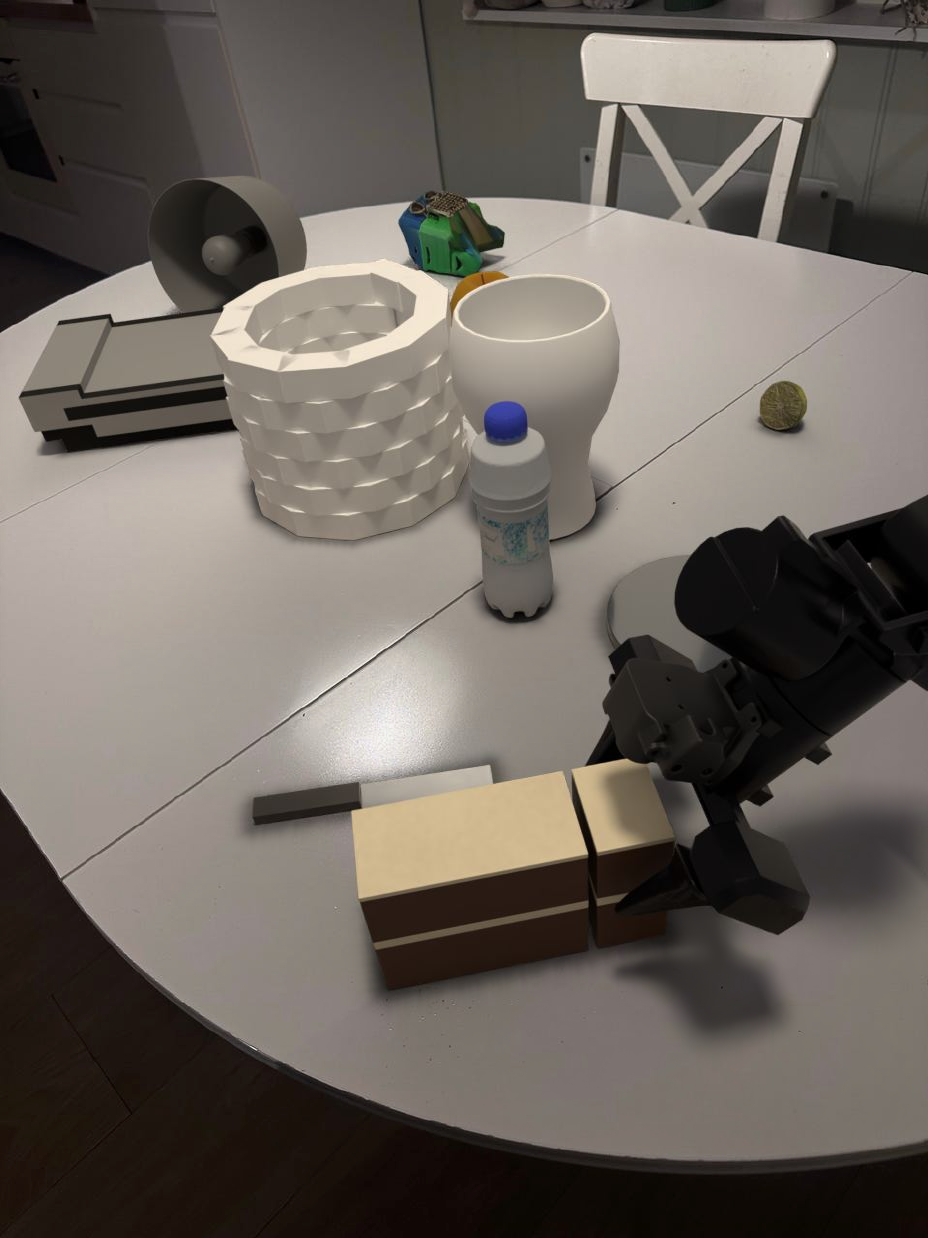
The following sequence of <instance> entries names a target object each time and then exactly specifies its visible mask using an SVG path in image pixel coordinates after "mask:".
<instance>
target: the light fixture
mask: <svg viewBox="0 0 928 1238" xmlns="http://www.w3.org/2000/svg"><path fill="white" fill-rule="evenodd" d="M307 243H308V242H307V237H306V232H305V229H304V226H303V223H302V220H301V218H300V216H299V215H298V212H297V211H296V209H295V207H294V205H293V204H292V203H291V202H290V200H289V199H288V198H287V197H286V196H285V195H284V193H282V191H280V190H279V189H277V187H275V186H274V185H272V184H271V183H269V182H268V181H265V180H263V179H260V178H258V177H254V176H249V175H231V176H213V177H199V178H188V179H183V180H180V181H178V182H175V183H173V184H171V185H170V186H169V187H168V188H166V189H165V190H164V191H163V192H162V193H161V195H159V196H158V198H157V199H156V202H155V203H154V205H153V206H152V209H151V212H150V215H149V220H148V227H147V246H148V253H149V257H150V262H151V264H152V268H153V270H154V272H155V276H156V278H157V280H158V282H159V283H160V286H161V287H162V289H163V290H164V292H165V294H166V295H167V297H168V298H169V299H170V301H172V303H173V304H174V305H175V306H176V307H177V308H178V309H179V310H180V311H181V313H187V312H194V311H201V310H208V309H216V308H223V306H224V305H226V304H228V303H229V302H231V301H233V300H234V299H236V298H238V297H239V296H241V295H242V294H244V293H246V292H247V291H249V290H251V289H252V288H254V287H256V286H257V285H259V284H260V283H262V282H265V281H269V280H272V279H276V278H279V277H282V276H286V275H289V274H293V273H296V272H300V271H303V270H305V268H306V263H307V259H308V258H307V257H308V255H307V254H308V244H307Z"/></svg>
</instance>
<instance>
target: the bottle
mask: <svg viewBox="0 0 928 1238" xmlns="http://www.w3.org/2000/svg"><path fill="white" fill-rule="evenodd" d="M484 428H485V431H484V432H483V433H481V434H479V435H478V434H477V435H476V437H474V439H473V441H472V443H471V446H470V461H469V462H470V463H469V475H468V481H469V482H468V483H469V485H470V488H471V490H470V495H471V497H472V498H471V499H473V500H472V501H474V502H475V504H476V512H477V520H478V529H479V530H478V531H479V538H480V548H481V577H482V588H483V592H484V597H485V598H486V602H487V603H488V605H489V606H490V607H491V609H493V610H497V611H498V610H500V611H501V613H502V614H503V616H504V617H506V618H514V616H515V612H516V613H517V612H523V613H524V616H525V617H527V618H529V617H532V616H534V615H535V614H536V612H537V610H538V609H539V608H544V607H547V606H548V605H549V602H550V601H551V599H552V596H553V595H552V594H553V587H554V574H553V573H554V572H553V564H552V556H551V549H550V540H549V524H548V500H547V498H548V496H549V494H550V491H551V483H550V480H551V469H550V466H549V461H548V455H547V450H546V445H545V441H544V439H543V437H542V435H541V434H540V433H539V432H537V431H536V430H534V429H531V428H529V427H528V423H527V414H526V411H525V409H524V408H523V407H522V406H521V405H520V404H518V403H516V402H511V401H503V402H498V403H495V404H493V405H491V406H490V407H489V408H488V409H487V410H486V412H485V415H484Z"/></svg>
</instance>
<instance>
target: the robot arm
mask: <svg viewBox="0 0 928 1238" xmlns="http://www.w3.org/2000/svg"><path fill="white" fill-rule="evenodd" d="M689 555H690V557H689V558H688V560H687V562H686V563H685V565H684V566H683V568H682V570H681V573H680V575H679V577H678V580H677V584H676V588H675V595H674V605H675V610H676V615H677V617H678V619H679V621H680V622H681V623H682V624H683V625H684V627H685V628H686V629H687V630H689V631H691V632H692V633H694V634H696V635H697V636H699V637H701V638H702V639H704V640H705V641H707V642H709V643H710V644H712V645H714V646H715V647H717V648H719V649H720V650H722V651H723V652H725V653H727V654H728V655H730V656H732V658H731V659H729V660H728V659H725V660H723V661H722V662H720V663H719V664H718V665H717V666H716V667H714V668H712V669H710V670H708V671H706V672H703V673H702V672H698V671H697V669H696V667H695V665H694V663H693V661H692V660H691V659H689V658H688V657H686V656H684V655H683V654H681V653H679V652H677V651H676V650H674V649H672V648H671V647H669V646H667V645H665V644H664V643H662V642H660V641H659V640H657V639H655V638H653V637H652V636H650V635H642V636H637V637H631V638H628V639H627V640H626V641H625V642H623V643H622V644H621V645H620V646H619V647H618V648H617V649H614V650H613V651H612V652H610V654H609V655H608V656H607V658H608V660H609V662H610V666H611V668H612V670H613V672H611V673H610V674H609V676H608V684H609V687H610V689H609V690H608V692H607V693H606V695H605V697H604V698H603V700H602V702H601V706H602V709H603V713H604V714H605V715H607V716H608V718H609V719H608V721H607V723H606V724H605V725H606V726H605V728H604V730H603V731H602V734H601V736H600V737H599V739H598V740H597V743H596V745H595V747H594V748H593V750H592V752H591V754H590V755H589V757H588V759H587V761H586V762H585V765H584V766H583V767H586V766H591V765H596V764H602V763H607V762H612V761H617V760H623V759H628V760H630V761H632V762H635V763H639V764H647V765H648V764H651V763H654V764H657V766H658V768H659V771H660V773H661V776H662V777H663V779H664V780H665V781H668V782H678V783H686V784H688V783H689V784H691V786H692V788H693V791H694V793H695V795H696V797H697V800H698V802H699V805H700V807H701V809H702V811H703V814H704V815H705V818H706V821H707V822H708V826H707V827H705V828H704V829H703V830H701V831H700V832H699V833H697V834H696V835H695V836H694V839H693V842H692V846H691V847H689V846H687V845H684V844H682V843H679V842H675V843H674V850H673V858H672V862H671V863H670V864H669V865H668V866H666V867H665V868H663V869H662V870H661V871H659V872H658V873H656V874H655V875H653V876H652V877H651V878H649V879H648V880H646V881H645V882H644V883H642V884H641V885H639V886H638V887H636V888H635V889H634V890H632V891H631V892H629V893H628V894H627V895H626V896H625V897H624V898H623V899H622V900H621V901H619V902H618V903H617V904H616V905H615V906H614V910H615V913H616V914H618V915H621V916H624V917H632V916H638V915H645V914H652V913H658V912H665V911H667V912H670V911H678V910H683V909H691V908H701V907H711V908H712V909H713V910H715V912H716V913H717V914H718V915H722V916H723V917H727V918H729V919H731V920H735V921H738V922H740V923H743V924H745V925H749V926H752V927H754V928H756V929H759V930H762V931H765V932H768V933H770V934H773V935H776V936H780V935H781V934H783V933H784V932H786V931H787V930H789V929H791V928H792V927H794V926H795V925H797V924H798V923H800V922H802V921H803V919H804V917H806V914H807V912H808V909H809V906H810V903H811V899H812V897H811V894H810V893H809V891H808V888H807V886H806V885H805V883H804V882H805V881H803V878H802V876H801V875H800V873H799V870H798V869H797V866H796V864H795V863H794V861H793V859H792V857H791V854H790V852H789V851H788V849H787V848H788V847H787V846H786V844H785V842H783V841H781V840H779V839H776V838H774V837H771V836H770V835H768V834H765V833H763V832H761V831H758V830H757V829H754V828H752V827H751V825H750V823H749V821H748V818H747V816H746V814H745V812H744V810H743V809H742V805H741V804H743V803H744V802H745V801H747V802H749V803H751V804H753V805H756V806H758V807H759V808H761V807H762V806H763V805H765V804H766V803H768V802H769V801H770V800H773V798H774V797H775V796H774V794H773V792H772V790H771V788H770V787H769V785H770V783H772V782H773V781H775V780H776V779H777V778H779V777H780V776H781V775H782V774H784V773H785V772H786V771H788V770H789V769H791V768H792V767H794V766H795V765H796V764H798V763H799V762H800V761H802V760H803V759H805V760H808V761H809V762H811V763H813V764H815V765H817V766H819V765H820V764H822V763H823V762H824V761H826V760H827V759H829V758H830V757H831V756H832V755H833V753H832V751H831V750H830V748H829V746H828V745H827V743H826V742H827V741H829V740H830V739H831V738H833V737H834V736H835V735H837V734H839V733H840V732H841V731H843V730H844V729H846V728H847V727H848V726H849V725H851V724H852V723H853V722H855V721H857V720H858V719H859V718H860V717H862V716H863V715H864V714H866V713H867V712H868V711H870V710H871V709H872V708H874V707H875V706H877V705H878V704H879V703H881V702H882V701H884V700H885V699H886V698H887V697H889V696H890V695H892V694H893V693H894V692H896V691H897V690H898V689H900V688H901V687H903V686H904V685H905V684H906V683H907V682H908V681H911V682H913V683H914V684H916V685H917V686H918V687H920V688H921V689H923V690H924V691H925V692H928V494H926V495H924V496H922V497H920V498H918V499H916V500H914V501H912V502H910V503H908V504H907V505H905V506H903V507H900V508H896V509H894V510H893V509H892V510H890V511H887V512H883V513H879V514H876V515H873V516H868V517H866V518H865V517H864V518H861V519H858V520H855V521H851V522H848V523H844V524H841V525H837V526H833V527H830V528H826V529H823V530H820V531H816V532H813V533H812V534H810V535H809V536H808V538H807V537H806V536H805V534H804V532H803V531H802V530H801V529H800V527H799V526H798V525H797V524H796V523H794V522H793V521H792V520H791V519H789V518H788V517H787V516H786V515H778V516H776V517H775V518H774V519H773V520H771V522H770V523H768V525H766V526H765V527H764V528H763V529H762V530H760V529H758V528H754V527H750V526H744V527H734V528H732V529H729V530H724V531H723V532H721V533H719V534H718V535H716V536H709V537H708V538H706V539H705V540H704V541H702V542H701V543H700V544H699V545H698V546H697V547H696V549H694V551H693V552H692V553H691V554H689Z"/></svg>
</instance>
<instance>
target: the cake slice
mask: <svg viewBox="0 0 928 1238" xmlns="http://www.w3.org/2000/svg"><path fill="white" fill-rule="evenodd" d="M570 771H571V799H572V803H573V806H574V809H575V812H576V816H577V819H578V822H579V825H580V829H581V832H582V835H583V839H584V842H585V845H586V848H587V852H588V923H589V925H590V929H591V932H592V936H593V940H594V943H595V946H596V949H600V948H606V947H611V946H616V945H620V944H625V943H630V942H634V941H641V940H645V939H651V938H655V937H661V936H664V935H666V926H667V916H668V911H665V912H658V913H652V914H645V915H638V916H632V917H624V916H621V915H618V914H616V913H615V910H614V906H615V905H616V904H617V903H618V902H619V901H621V900H622V899H623V898H624V897H625V896H626V895H627V894H628V893H629V892H631V891H632V890H634V889H635V888H636V887H638V886H639V885H641V884H642V883H644V882H645V881H646V880H648V879H649V878H651V877H652V876H653V875H655V874H656V873H658V872H659V871H661V870H662V869H663V868H665V867H666V866H668V865H669V864H670V863H671V862H672V858H673V852H674V847H675V841H676V836H675V833H674V830H673V828H672V826H671V825H672V824H671V822H670V820H669V818H668V815H667V812H666V810H665V808H664V805H663V802H662V800H661V797H660V795H659V792H658V790H657V786H656V785H655V782H654V779H653V777H652V774H651V772H650V770H649V767H648V764H639V763H635V762H632V761H630V760H628V759H623V760H617V761H612V762H607V763H602V764H596V765H591V766H586V767H584V766H581V767H576V768H571V770H570Z"/></svg>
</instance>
